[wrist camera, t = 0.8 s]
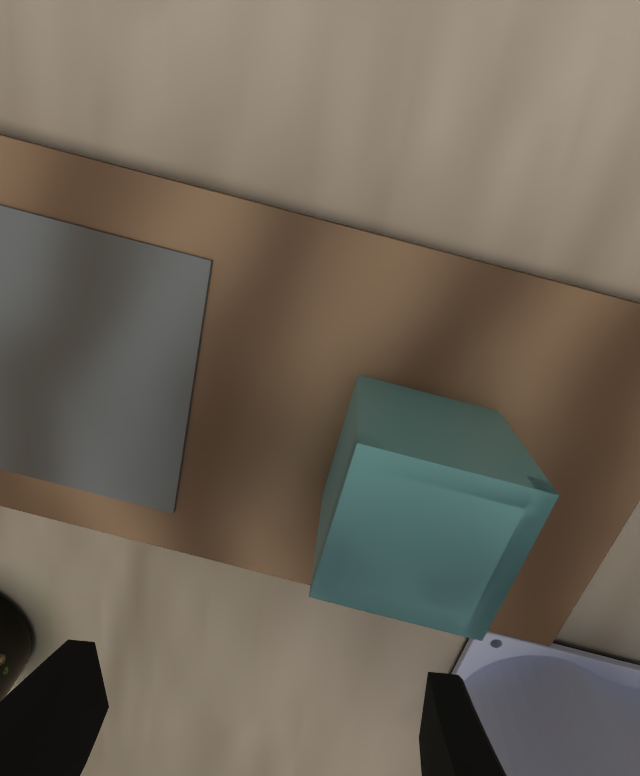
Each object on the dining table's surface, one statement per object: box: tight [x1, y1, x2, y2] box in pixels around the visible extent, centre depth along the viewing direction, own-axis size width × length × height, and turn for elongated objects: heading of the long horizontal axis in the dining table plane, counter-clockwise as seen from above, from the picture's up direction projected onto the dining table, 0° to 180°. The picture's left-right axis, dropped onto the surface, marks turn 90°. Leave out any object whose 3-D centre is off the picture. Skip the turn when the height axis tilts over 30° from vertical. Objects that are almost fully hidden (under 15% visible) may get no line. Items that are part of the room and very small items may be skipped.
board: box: [0, 134, 640, 646], centre depth 15 cm, size 30×14×5 cm, turn 76°
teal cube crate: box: [309, 375, 559, 641], centre depth 14 cm, size 5×5×5 cm
